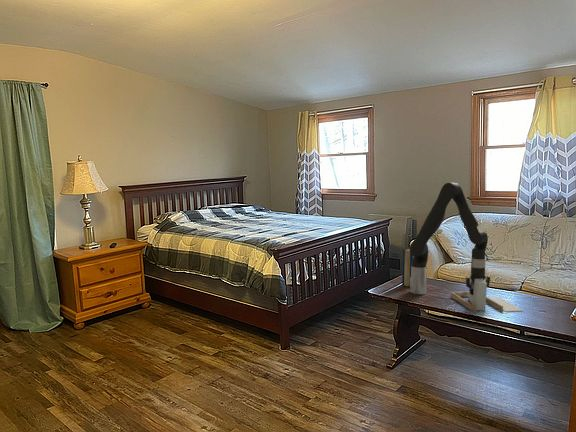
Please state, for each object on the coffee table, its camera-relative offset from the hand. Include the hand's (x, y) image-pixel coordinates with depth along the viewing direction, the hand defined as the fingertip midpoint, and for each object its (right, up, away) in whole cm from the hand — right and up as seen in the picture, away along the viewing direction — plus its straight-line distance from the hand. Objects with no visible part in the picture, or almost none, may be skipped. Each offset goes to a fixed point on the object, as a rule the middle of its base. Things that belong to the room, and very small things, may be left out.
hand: (477, 294), depth 252 cm
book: (-23, -1, +47) cm, 52 cm away
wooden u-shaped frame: (0, -6, +2) cm, 6 cm away
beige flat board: (+14, -6, 0) cm, 15 cm away
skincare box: (0, -6, +1) cm, 6 cm away
